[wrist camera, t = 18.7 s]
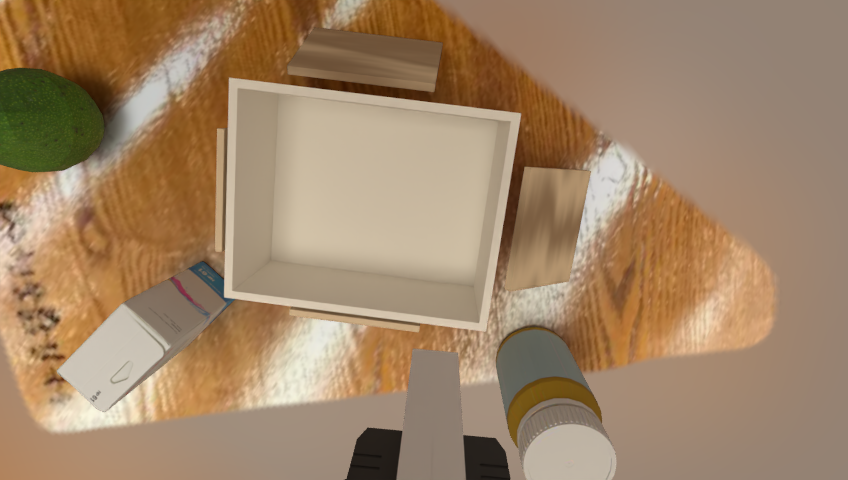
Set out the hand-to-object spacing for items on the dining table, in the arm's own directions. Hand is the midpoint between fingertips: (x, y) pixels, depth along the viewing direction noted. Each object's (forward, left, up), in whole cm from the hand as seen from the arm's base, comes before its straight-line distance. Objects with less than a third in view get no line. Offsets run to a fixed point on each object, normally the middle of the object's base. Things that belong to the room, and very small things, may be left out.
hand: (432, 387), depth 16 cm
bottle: (+12, +10, -29) cm, 33 cm away
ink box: (+11, -23, -29) cm, 38 cm away
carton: (-2, -6, -29) cm, 29 cm away
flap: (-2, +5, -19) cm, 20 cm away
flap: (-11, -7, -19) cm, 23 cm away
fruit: (-5, -33, -29) cm, 44 cm away
